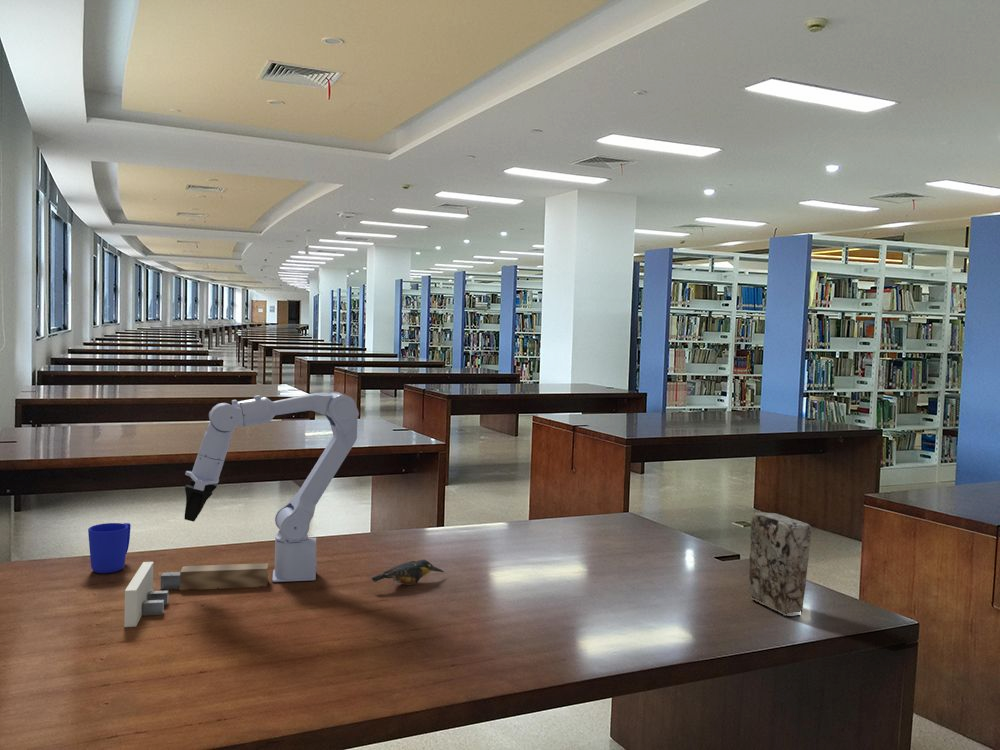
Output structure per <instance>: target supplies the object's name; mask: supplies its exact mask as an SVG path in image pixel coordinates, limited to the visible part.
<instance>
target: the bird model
mask: <svg viewBox="0 0 1000 750" xmlns="http://www.w3.org/2000/svg"><path fill="white" fill-rule="evenodd" d="M431 572H439V573H445V571H444V570H442V569H440V568H439V567H436V566H434V565H433V563H431V562H430V561H428V560H426V559H420V560H412V561H408V562H404V563H401V564H399V565H396V566H394V567H391V568H389V569H387V570H385V571H383V573H379V574H377V575H374V576H372V577H371V578H370V579H369V580H370V581H372V582H373V583H376V582H378V581H381V580H383V579H389V580H390V579H392V581H393V583H395V582H396V583H397V584H402V585H406V586H412V585H413V584H418V582H419V581H420V579H422V578H423V577H424V576H427V574H430V573H431Z"/></svg>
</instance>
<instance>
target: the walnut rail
mask: <svg viewBox="0 0 1000 750" xmlns="http://www.w3.org/2000/svg"><path fill="white" fill-rule="evenodd" d="M268 581H269V563H268V562H267V563H266V562H265V563H262V562H261V563H238V564H235V563H234V564H233V563H232V564H214V565H213V564H211V565H210V564H207V565H206V564H205V565H185V566H182V567H181V570H180V571H170V572H162V573H161V575H160V590H161V589H168V590H180V591H189V590H188V589H196V590H214V589H215V590H216V589H217V588H219V589H237V588H238V587H243V588H259V587H260V586H265V587H268ZM258 586H259V587H258ZM176 588H177V589H176ZM179 588H180V589H179ZM186 589H187V590H186ZM238 589H239V588H238Z"/></svg>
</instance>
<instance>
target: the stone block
mask: <svg viewBox="0 0 1000 750" xmlns="http://www.w3.org/2000/svg"><path fill="white" fill-rule="evenodd" d="M811 528H812V527H811V525H810V524H809V523H807V522H803V521H801V520H798V519H794V518H791V517H788V516H786V515H782V514H779V513H774V512H757V511H756V512H755V513H754V514H753V515H752V517H751V524H750V536H749V537H750V541H751V542H750V551H749V573H748V575H749V578H748V579H749V580H748V582H749V591H750V597H752V598H754V599H757V600H759V601H761V602H763V603H765V604H767V605H769V606H770V607H772V608H775V609H777V610H779V611H781V612H782V613H785V614H787V613H793V612H800V611H802V612H803V607H804V598H805V592H806V585H807V583H806V582H807V574H808V567H809V566H808V565H809V560H810V559H809V558H810V546H811V538H812V529H811Z"/></svg>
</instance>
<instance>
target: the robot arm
mask: <svg viewBox="0 0 1000 750" xmlns="http://www.w3.org/2000/svg"><path fill="white" fill-rule="evenodd" d="M308 411H312V412H316V413H317V414H321V415H324V416H325V417H326V418H327V421H328V422H329V425H330V429H331V432H332V437H331V438H330V441H329V442H328V443H327V445H326V447H325V448H324V450H323V452H322V453H321V454H320V456H319V457H318V460H317V462H316V463H315V464H314V466H313V468H311V471H310V473H309V474H308V475H307V477H306V478H305V480H304V482H303V483H302V485H301V486H300V488H299V490H298V491H297V493H295V495H293V496H292V497H291V498H290V499H289V501H288V502H287V503H286V504H285V505H284V506H283V507H281V508H280V509H279V510H278V511H277V512H276V514H275V517H274V522H275V525H276V527H277V529H279V530H278V532H277V533H276V535H275V536H274V537H275V540H274V541H275V542H274V543H275V544H274V569H273V570H272V579H271V582H273V583H279V582H280V583H282V582H283V583H284V582H287V583H288V582H305V581H307V582H310V581H316V578H317V575H316V574H317V572H316V571H317V570H318V561H317V538H316V537H309V534H308V533H309V531H310V523H311V521H312V519H313V517H314V515H315V510H316V506H317V505H318V503H319V501H320V500H321V498H322V496H323V495H324V493H325V492H326V490H327V488H328V487H329V485H330V483H331V482H332V480H333V479H334V477H335V475H336V474H337V472H338V471H339V469H340V468H341V466H342V464H343V462H344V461H345V459H346V458H347V456H348V455H349V453H350V451H351V450H352V448H353V446H354V445H355V443H356V441H357V439H358V418H359V415H360V413H359V410H358V407H357V404H356V401H355V400H354V398H352V397H351V396H349V395H346V394H343V393H342V392H338V391H331V392H314V393H308V394H304V395H299V396H294V397H288V398H283V399H279V400H274V401H272V400H271V399H270V398H268V397H267V396H263V397H262V396H261V395H260V394H259V395H258V394H257V395H254V396H253V398H251V399H244V400H239V401H238V400H237V399H232V400H231V404H230V403H227V402H221V403H217V404H216V405H214V406H213V407H212V408H211V410H210V411H208V412H209V413H208V419H209V422H208V425H207V427H206V428H205V429H206V430H205V432H204V434H203V437H202V439H201V442H200V445H199V449H198V452H197V456H196V459H195V462H194V465H193V467H192V470H186V471H185V473H184V475H185V476H188V477H190V478H191V480H190V484H186V485H185V487H184V491H185V498H186V499H185V509H184V516H183V517H184V520H186V521H189V522H193V523H194V522H195V521H196V520H197V518H198V516H199V515H200V513H201V512H202V510H203V508H204V506H205V504H206V502H207V501H208V499H209V498H210V497H211V496H212V495H213V491H214V490H216V488H217V486H218V483H219V482H220V479H219V478H220V476H221V472H222V470H223V466H224V464H225V460H226V456H227V454H228V450H229V447H230V444H231V442H232V441H231V440H232V435H233V432H234V430H235V429H237V427H238V426H239V427H240V428H243V427H244V428H245V427H249V426H256V425H261V424H267V423H270V422H271V421H272V420H273V419H274V417H275V416H279V415H287V414H292V413H295V414H296V413H301V412H308Z"/></svg>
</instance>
